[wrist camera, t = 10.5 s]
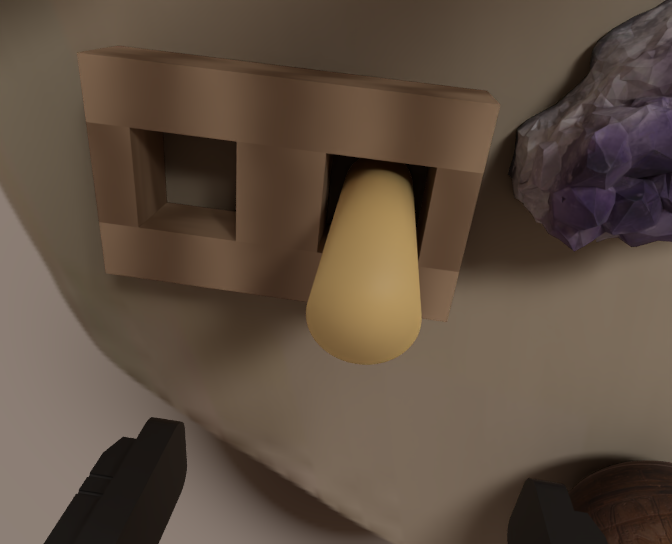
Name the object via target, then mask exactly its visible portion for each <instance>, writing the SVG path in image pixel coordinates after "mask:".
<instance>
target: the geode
mask: <svg viewBox="0 0 672 544" xmlns="http://www.w3.org/2000/svg"><path fill="white" fill-rule="evenodd" d="M590 68H591V71H590V73H589V74H588V75H587V76H586V77H585V78H584V79H583V80H582V81H581V82H580V83H579V84H578V85H577V86H576V87H575V88H574V89H573V90H571V91H570V92H569V93H568V94H567V95H566V96H565V97H564V98H562V99H561V100H560V101H559V102H558V103H557V104H556V105H554V106H552V107H550V108H548V109H546V110H544V111H542V112H541V113H539V114H537V115H535V116H533V117H532V118H530V119H528V120H526V121H525V122H524V123H523V124H522V125H521V126H520V127H518V128H517V133H516V143H515V151H514V156H513V159H512V162H511V166H510V169H509V172H508V175H509V176H510V177H511V178H512V181H513V193H514V196H515V198H516V199H518V200H520V201H521V202H522V203H524V206H525V207H526V208H527V209H528V210H529V211H530V212H531V214H532V215H533V217H534V219H535V220H536V222H538V223H541V224H543V226H544V227H545V229H546V231H547V232H548V234H550V235H552V236H554V237H556V238H558V239H560V240H561V241H562V242H563V243H564V244H566V245H567V246H568V247H569V248H571V249H572V250H573V251H576V250H578V249H580V248H582V247H583V246H585V245H587V244H588V243H590V242H592V241H593V240H594V239H596V242H599V241H601V240H604V239H607V238H615V237H617V238H620V239H621V240H622V241H624V242H625V243H627V244H628V245H629V246H631V247H637V246H640V245H644V244H647V243H651V242H654V241H657V240H659V241H670V242H672V0H666V1H664V2H663V3H661V4H660V5H658V6H657V7H655V8H653V9H651V10H649V11H646V12H644V13H642V14H639V15H637V16H634V17H633V18H631V19H629V20H627V21H626V22H624V23H622V24H620V25H619V26H617V27H615V28H613V29H612V30H611V31H609V32H608V33H607V34H606V35H605V36H604V37H603V38H602V39H600V40H599V41H598V42H597V44H596V46H595V47H594V49H593V51H592V57H591V62H590Z"/></svg>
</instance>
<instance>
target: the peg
mask: <svg viewBox="0 0 672 544" xmlns="http://www.w3.org/2000/svg"><path fill="white" fill-rule="evenodd" d="M306 320H307V325H308V328H309V330H310V333H311V335H312V336H313V338H314V339H315V341H316V342H317V343H318V344H319V345H320V346H321V347H322V348H323V349H324V350H325V351H326V352H328V353H329V354H331V355H332V356H334V357H336V358H338V359H341V360H343V361H346V362H350V363H354V364H363V365H370V364H378V363H383V362H386V361H389V360H392V359H394V358H396V357H398V356H399V355H401V354H403V353H404V352H405V351H406V350H407V349H408V348H409V347H410V346H411V345H412V344H413V343H414V341H415V340H416V338H417V336H418V334H419V331H420V328H421V321H422V318H421V300H420V285H419V269H418V254H417V239H416V223H415V208H414V193H413V181H412V176H411V173H410V171H409V169H408V168H407V166H406V165H405V164H404V163H398V162H391V161H383V160H375V159H368V158H360V159H358V160H357V161H356V162H354V163H353V165H352V166H351V167H350V169H349V170H348V172H347V174H346V177H345V181H344V184H343V187H342V190H341V194H340V197H339V200H338V204H337V207H336V210H335V214H334V217H333V220H332V223H331V227H330V230H329V233H328V237H327V240H326V243H325V247H324V250H323V253H322V256H321V260H320V263H319V266H318V270H317V273H316V276H315V280H314V283H313V286H312V289H311V293H310V296H309V299H308V303H307V308H306Z"/></svg>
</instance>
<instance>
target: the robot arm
mask: <svg viewBox="0 0 672 544" xmlns="http://www.w3.org/2000/svg"><path fill="white" fill-rule="evenodd" d="M186 471H187V458H186V441H185V427H184V423H183V422H180V421H173V420H167V419H161V418H153V417H151V418H150V419H149V420H148V421H147V422H146V424H145V425H144V427H143V429H142V430H141V432H140V434H139V435H138V437H137V439H134V438H127V437H122V438H121V439H120V440H118V441H117V442H116V443H115V444H113V445H112V446H111V447H110V448H108V449H107V450H106V451H105V452H103V454H102V455H101V457H100V458H99V460H98V461H97V463H96V464H95V466H94V467H93V469H92V470H91V472H90V476H89V477H87V478H86V480H85V481H84V483H83V484H82V486H81V487H80V489H79V492H78V494H76V495H75V497H74V498H73V500H72V501H71V503H70V504H69V506H68V507H67V509H66V511H65V512H64V513H63V515H62V516H61V518H60V520H59V521H58V523H57V524H56V526H55V527H54V529H53V530H52V532H51V533H50V535H49V536H48V538H47V540H46V541H45V543H44V544H158V543H159V541H160V539H161V537H162V534H163V532H164V530H165V528H166V525H167V523H168V521H169V519H170V516H171V514H172V512H173V510H174V508H175V505H176V503H177V501H178V499H179V496H180V494H181V491H182V489H183V485H184V482H185V477H186ZM507 541H508V544H608V543H607V540H606V537H605V535H604V534H603V533H602V532H601V530H600V529H599V528H598V526H597V525H596V524H595V522H594V521H593V520H592V518H591V517H590V516H589V514H588V513H584V512H578V511H574V509H573V506H572V503H571V500H570V497H569V494H568V491H567V489H566V487H565V486H564V485H563V484H561V483H556V482H549V481H543V480H537V479H531V478H528V479H527V480H526V481H525V483H524V485H523V488H522V490H521V493H520V495H519V498H518V500H517V503H516V505H515V507H514V510H513V512H512V515H511V517H510V520H509V524H508V533H507Z"/></svg>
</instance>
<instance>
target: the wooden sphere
mask: <svg viewBox="0 0 672 544" xmlns="http://www.w3.org/2000/svg"><path fill="white" fill-rule="evenodd" d="M568 494H569V497H570V500H571V503H572V506H573V509H574V511H578V512H584V513H588V514H589V516H590V517H591V518H592V520H593V521H594V522H595V524H596V525H597V526H598V528H599V529H600V530H601V532H602V533H603V534H604V535H605V537H606V540H607V543H608V544H672V463H670V462H663V461H632V462H625V463H620V464H616V465H612V466H609V467H606V468H604V469H601V470H599V471H597V472H595V473H593V474H591V475H589V476H588V477H586V478H585V479H583V480H582V481H581V482H579V483H578V484H577V485H576V486H575V487H574V488H573V489H572V490H571V491H570V492H569V493H568Z"/></svg>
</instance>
